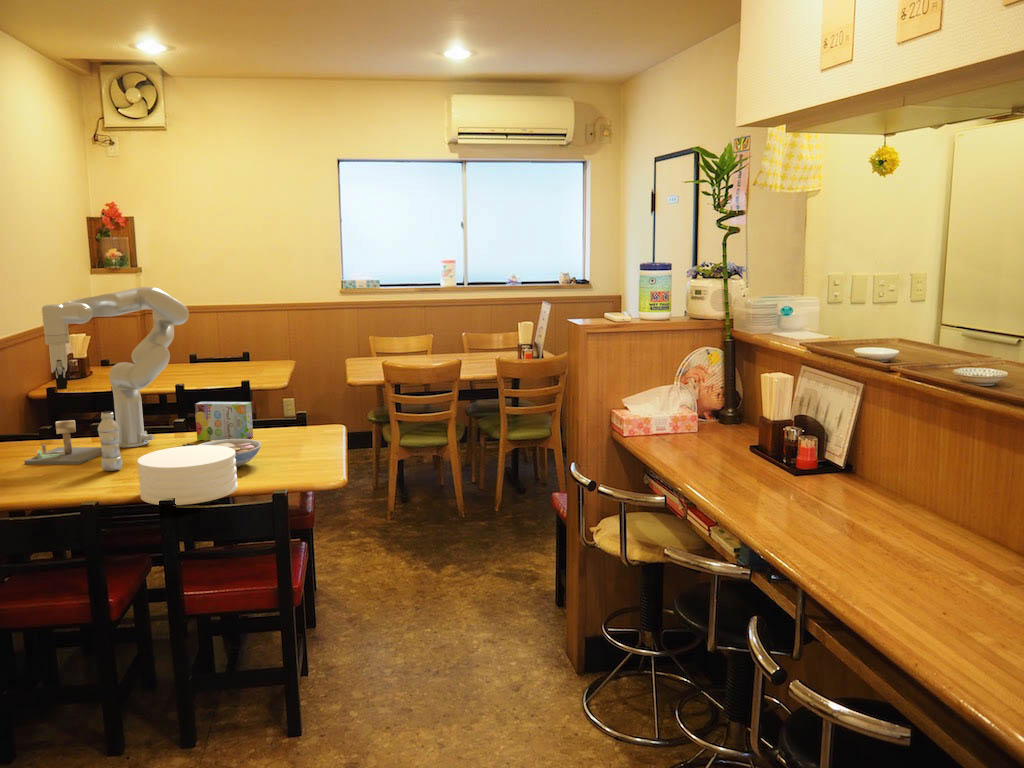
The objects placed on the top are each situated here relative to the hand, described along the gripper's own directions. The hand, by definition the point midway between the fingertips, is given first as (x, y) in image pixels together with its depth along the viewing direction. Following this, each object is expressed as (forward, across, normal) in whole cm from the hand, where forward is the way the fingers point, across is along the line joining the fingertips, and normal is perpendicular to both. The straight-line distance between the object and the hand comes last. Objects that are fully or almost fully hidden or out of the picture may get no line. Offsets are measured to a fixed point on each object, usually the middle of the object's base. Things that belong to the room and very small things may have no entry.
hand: (62, 387), depth 300 cm
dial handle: (+24, 0, -3) cm, 24 cm away
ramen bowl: (+26, +43, +49) cm, 70 cm away
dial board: (+26, 0, 0) cm, 26 cm away
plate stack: (+26, +68, +34) cm, 80 cm away
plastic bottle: (+26, +29, +13) cm, 41 cm away
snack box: (+26, 0, +54) cm, 60 cm away
